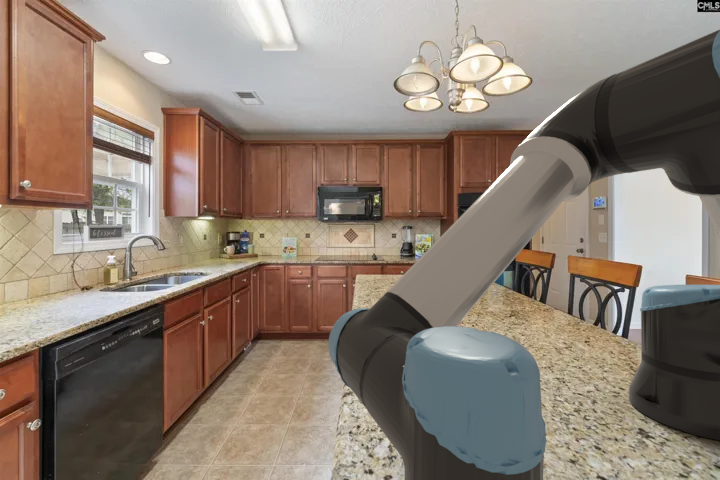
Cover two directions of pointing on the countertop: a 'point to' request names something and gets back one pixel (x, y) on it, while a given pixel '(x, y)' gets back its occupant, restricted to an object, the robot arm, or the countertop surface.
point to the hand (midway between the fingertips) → (442, 366)
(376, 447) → the countertop surface
